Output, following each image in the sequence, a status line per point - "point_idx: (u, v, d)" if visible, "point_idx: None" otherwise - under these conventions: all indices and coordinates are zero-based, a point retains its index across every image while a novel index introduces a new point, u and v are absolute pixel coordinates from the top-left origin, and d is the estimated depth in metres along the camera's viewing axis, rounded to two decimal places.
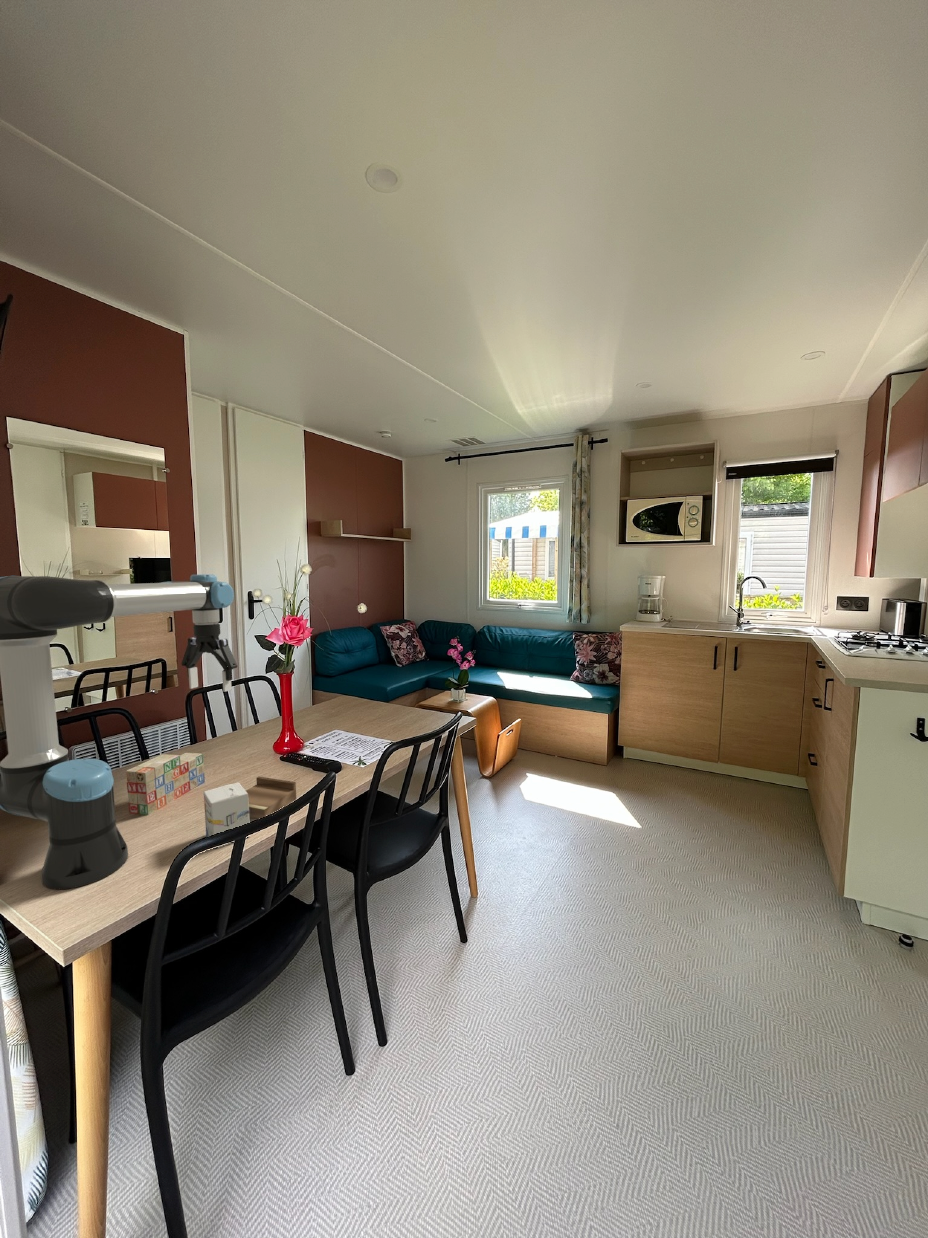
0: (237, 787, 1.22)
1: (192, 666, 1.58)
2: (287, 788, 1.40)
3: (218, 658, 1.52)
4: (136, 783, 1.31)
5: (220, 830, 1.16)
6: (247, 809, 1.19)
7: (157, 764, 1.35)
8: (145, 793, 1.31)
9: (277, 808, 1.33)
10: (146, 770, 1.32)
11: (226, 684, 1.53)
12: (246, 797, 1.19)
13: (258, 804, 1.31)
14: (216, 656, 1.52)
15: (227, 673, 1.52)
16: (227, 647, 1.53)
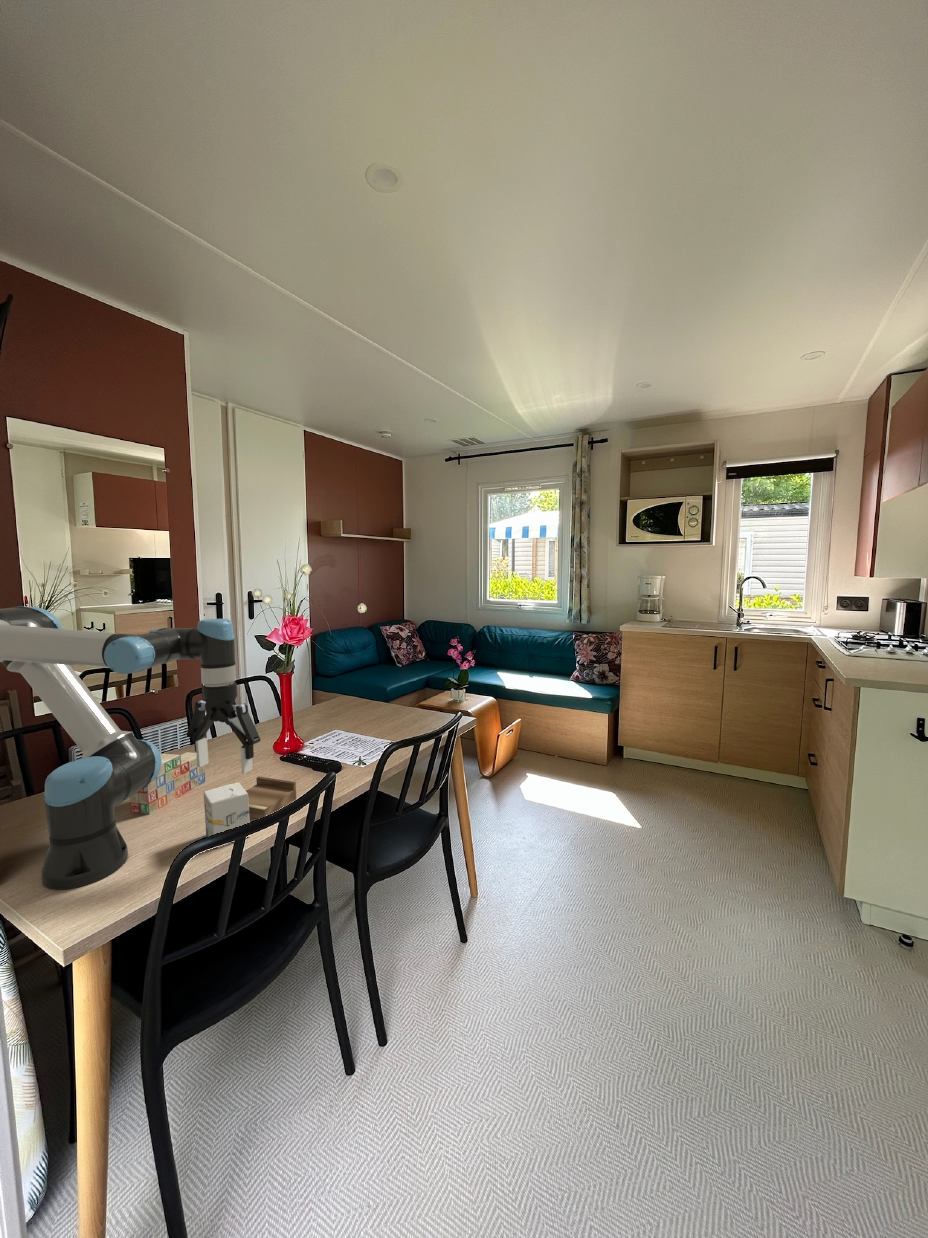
0: (237, 787, 1.22)
1: (200, 737, 1.21)
2: (287, 788, 1.40)
3: (235, 730, 1.15)
4: None
5: (220, 830, 1.16)
6: (247, 809, 1.19)
7: None
8: (146, 792, 1.31)
9: (277, 808, 1.33)
10: None
11: (246, 763, 1.16)
12: (246, 797, 1.19)
13: (258, 804, 1.31)
14: (232, 727, 1.16)
15: (247, 749, 1.16)
16: (247, 715, 1.16)
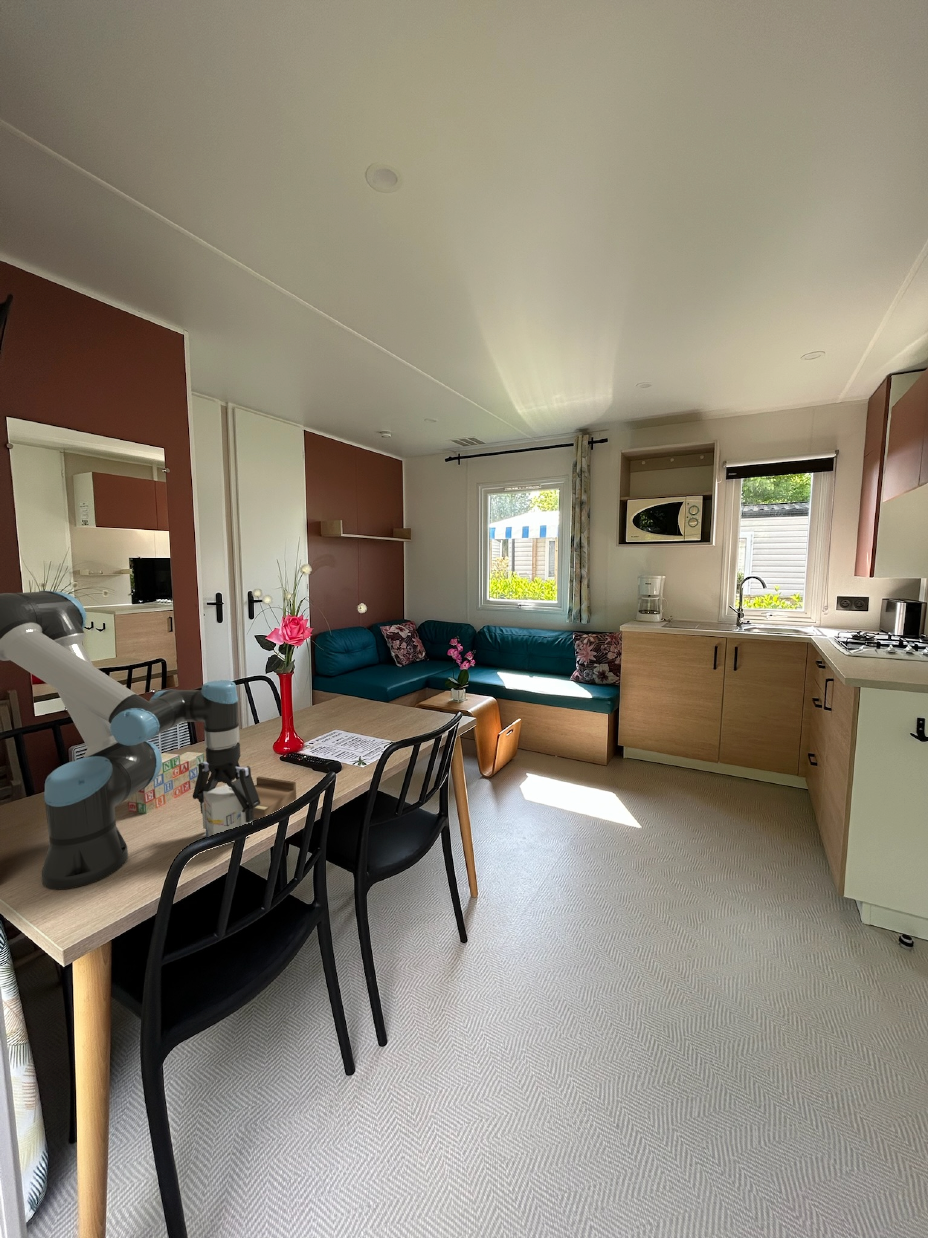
0: None
1: None
2: (287, 788, 1.40)
3: (237, 793, 1.17)
4: None
5: (220, 830, 1.16)
6: None
7: None
8: (143, 792, 1.32)
9: (277, 808, 1.33)
10: None
11: None
12: None
13: None
14: (234, 790, 1.17)
15: (247, 813, 1.17)
16: (249, 778, 1.18)
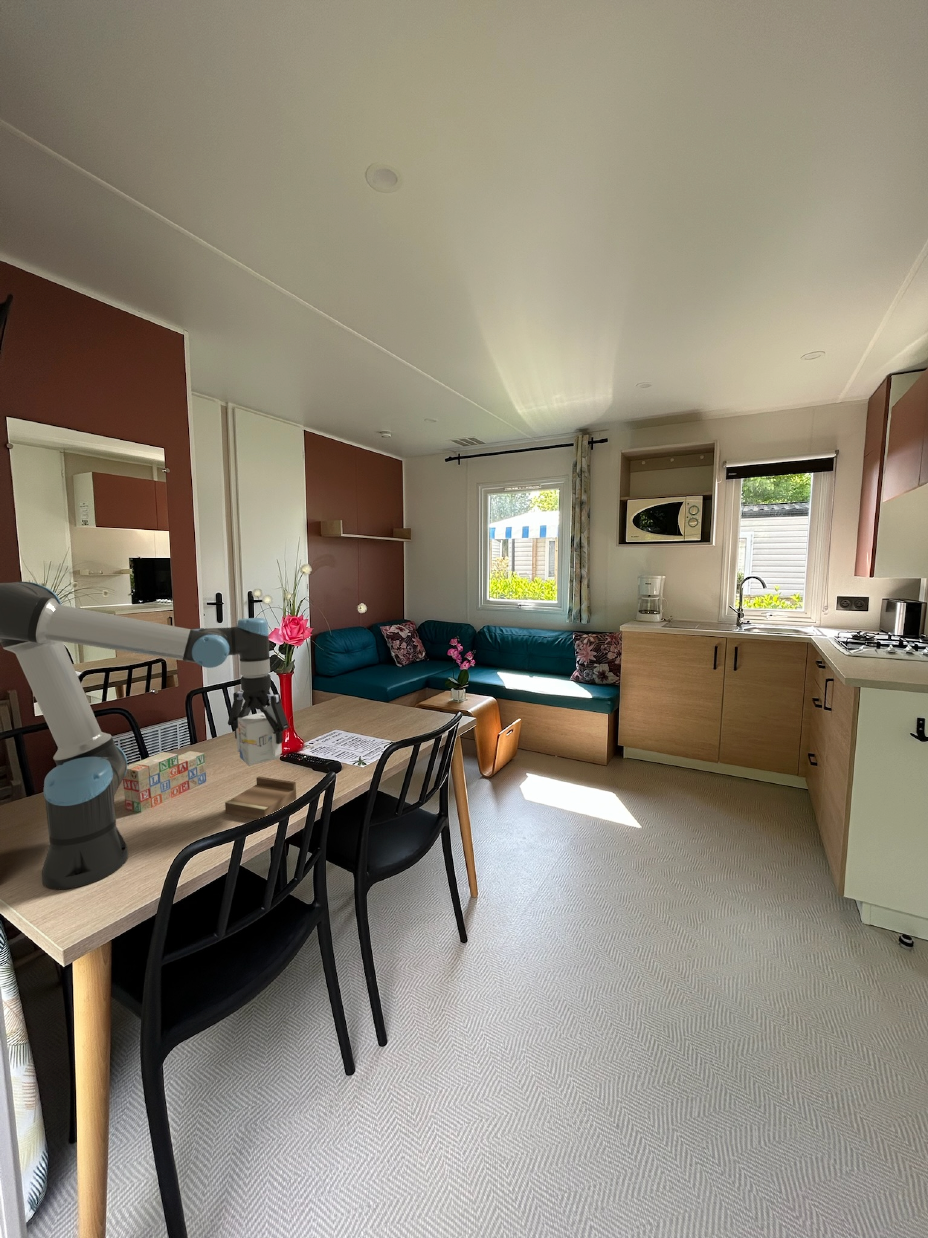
0: None
1: None
2: (287, 788, 1.40)
3: (268, 717, 1.31)
4: (131, 780, 1.33)
5: (254, 749, 1.30)
6: None
7: (152, 762, 1.37)
8: (138, 791, 1.32)
9: (277, 808, 1.33)
10: (140, 768, 1.33)
11: (276, 747, 1.32)
12: None
13: (258, 804, 1.31)
14: (266, 714, 1.31)
15: (277, 735, 1.32)
16: (279, 704, 1.32)
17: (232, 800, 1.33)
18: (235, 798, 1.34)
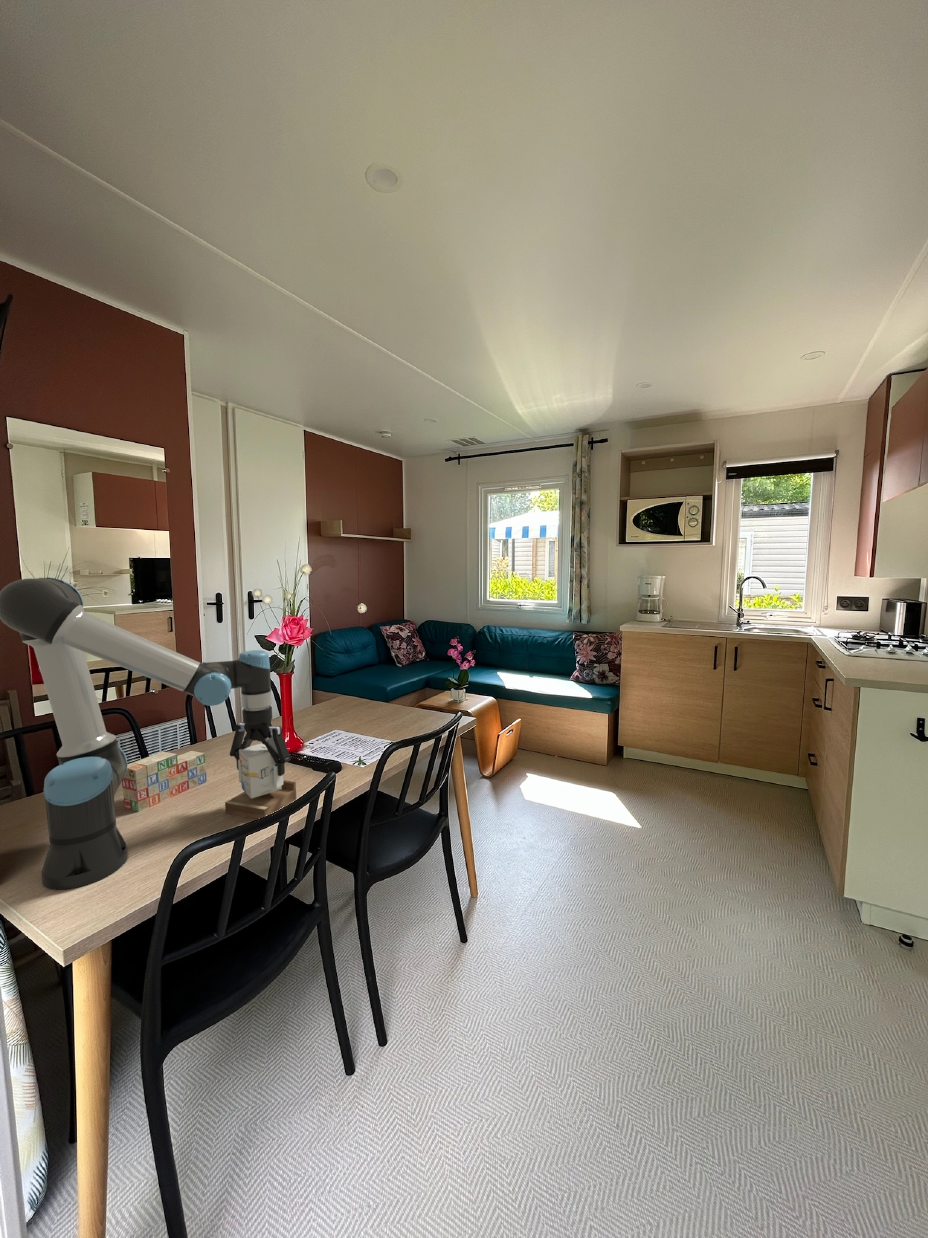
0: None
1: None
2: (287, 788, 1.40)
3: (270, 749, 1.32)
4: (129, 779, 1.33)
5: (256, 782, 1.31)
6: None
7: (151, 762, 1.37)
8: (135, 790, 1.33)
9: (277, 808, 1.33)
10: (138, 767, 1.34)
11: (278, 779, 1.33)
12: None
13: (258, 804, 1.31)
14: (268, 747, 1.32)
15: (279, 767, 1.32)
16: (281, 736, 1.33)
17: (232, 800, 1.33)
18: (235, 798, 1.34)
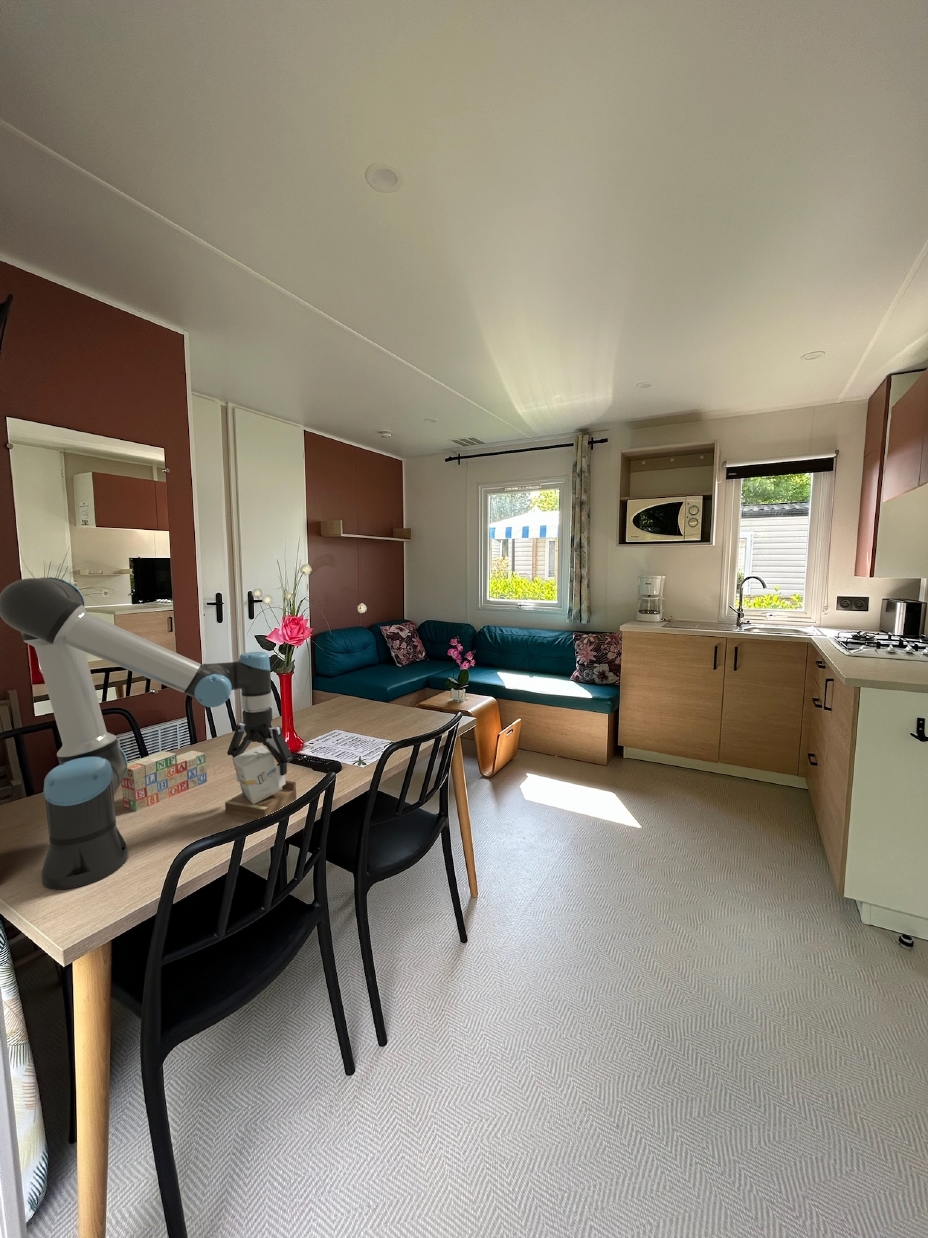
0: (261, 750, 1.35)
1: None
2: (287, 788, 1.40)
3: (271, 750, 1.32)
4: (127, 778, 1.34)
5: (255, 788, 1.31)
6: (274, 767, 1.34)
7: (149, 761, 1.37)
8: (133, 789, 1.33)
9: (277, 808, 1.33)
10: (136, 767, 1.34)
11: (280, 779, 1.33)
12: (271, 757, 1.33)
13: (258, 804, 1.31)
14: (269, 747, 1.32)
15: (281, 767, 1.32)
16: (281, 737, 1.33)
17: (232, 800, 1.33)
18: (235, 798, 1.34)
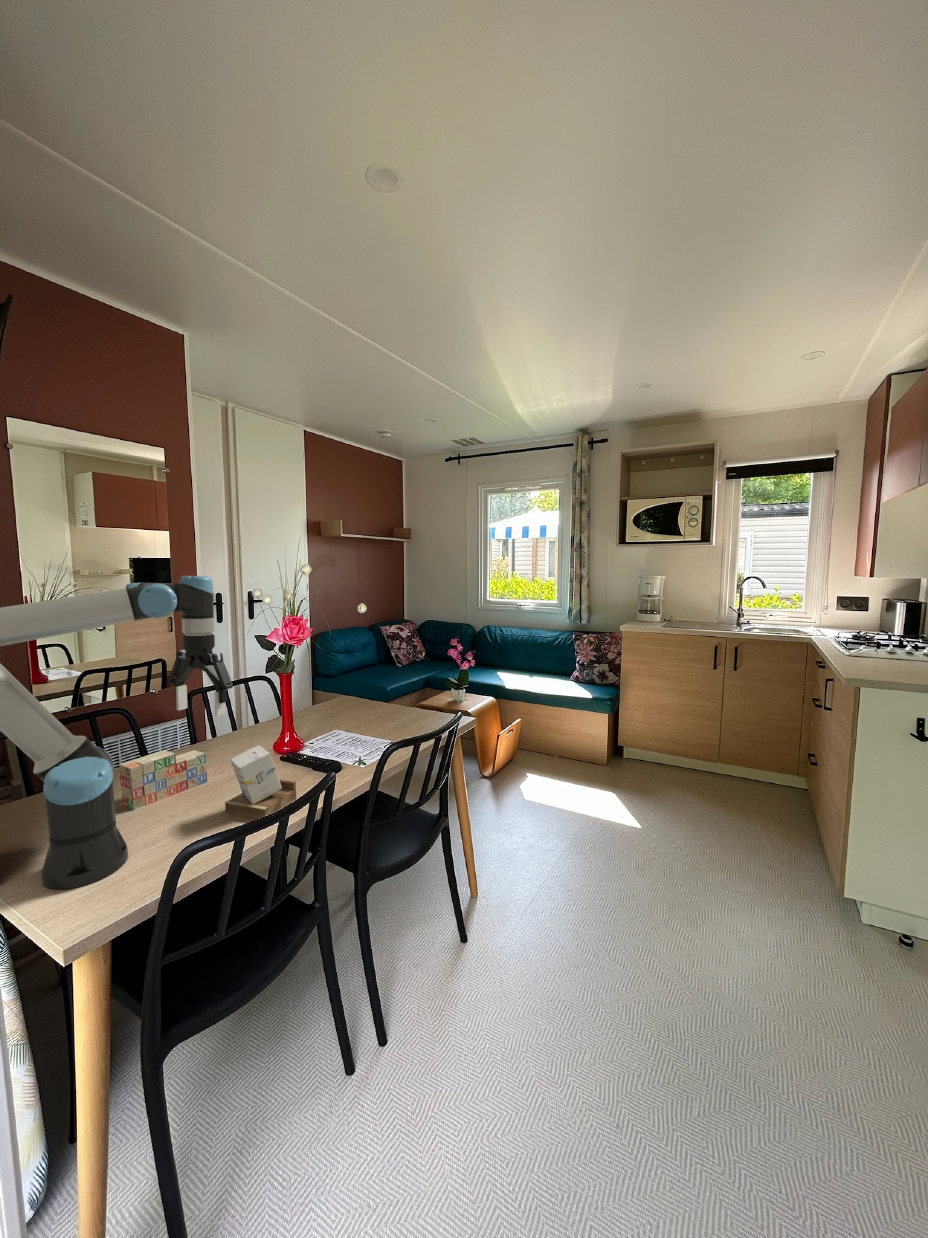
0: (259, 750, 1.35)
1: (181, 684, 1.33)
2: (287, 788, 1.40)
3: (210, 676, 1.28)
4: (125, 777, 1.35)
5: (254, 788, 1.31)
6: (273, 766, 1.33)
7: (148, 761, 1.38)
8: (131, 788, 1.34)
9: (277, 808, 1.33)
10: (134, 766, 1.35)
11: (219, 707, 1.28)
12: (269, 756, 1.33)
13: (258, 804, 1.31)
14: (208, 673, 1.28)
15: (220, 694, 1.28)
16: (221, 663, 1.28)
17: (232, 800, 1.33)
18: (235, 798, 1.34)
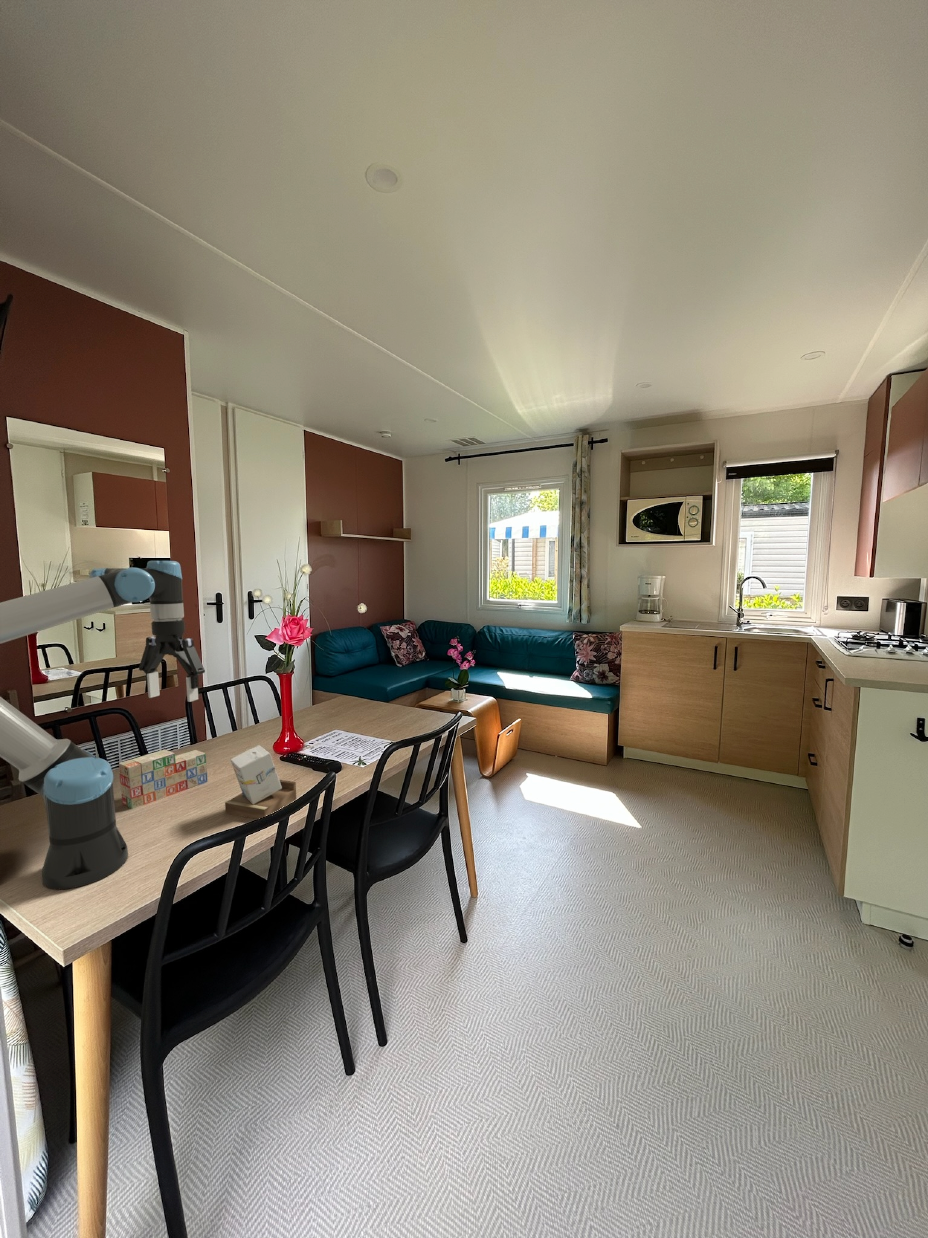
0: (259, 750, 1.35)
1: (152, 671, 1.32)
2: (287, 788, 1.40)
3: (181, 661, 1.26)
4: (124, 776, 1.36)
5: (254, 788, 1.31)
6: (273, 766, 1.33)
7: (146, 760, 1.38)
8: (129, 787, 1.35)
9: (277, 808, 1.33)
10: (132, 765, 1.36)
11: (191, 692, 1.27)
12: (269, 756, 1.33)
13: (258, 804, 1.31)
14: (179, 659, 1.27)
15: (192, 679, 1.27)
16: (192, 648, 1.27)
17: (232, 800, 1.33)
18: (235, 798, 1.34)
